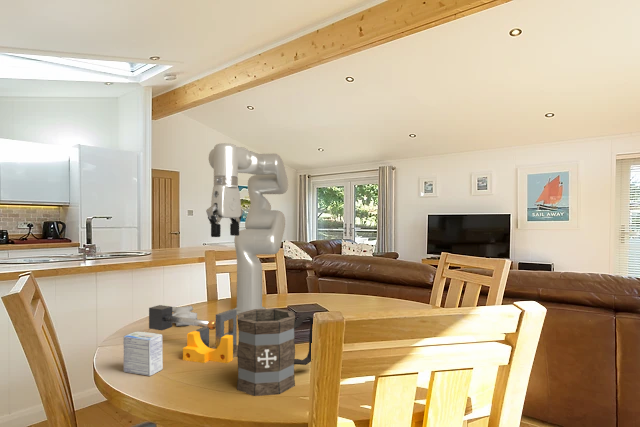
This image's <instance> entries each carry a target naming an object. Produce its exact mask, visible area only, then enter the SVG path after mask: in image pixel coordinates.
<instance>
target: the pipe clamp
mask: <svg viewBox="0 0 640 427" xmlns="http://www.w3.org/2000/svg"><path fill="white" fill-rule="evenodd" d="M186 336H187V337H186V346H184V347H182V361H184V362H185V361H186V362H194V363H201V364H206V363H208V362H213V363H214V362H215V363H222V364H223V363H224V364H229V363H230V362H232V361H233V360H234V358H233V335H225V336H223V337H221V341H220V344H219V346H218V348H217V349H212V347H210V346H209V347H207V346H206V345H205V344H204V343H203V342H202V340H201V337H200V332H198V331H196V330H193V331H190V332H188V333H187V334H186Z"/></svg>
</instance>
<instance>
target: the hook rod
mask: <svg viewBox="0 0 640 427" xmlns="http://www.w3.org/2000/svg"><path fill="white" fill-rule="evenodd" d="M172 307H173V306H169V305H162V304H159V305H154V306H151V307H148V329H150V330H156V331H165V330H167V329H170V328H173V324H176V323H179V324H186V326H193V327H194V326H195V327H200V328H203V327H206V328H209V331H210V330H211V331H212V330H216V319H215V320H214V319H210V320H205V319H198V318H197V319H191V318H184V317H177V316H172V314H173V312H172ZM172 322H173V323H172Z"/></svg>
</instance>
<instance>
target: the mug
mask: <svg viewBox="0 0 640 427" xmlns="http://www.w3.org/2000/svg"><path fill="white" fill-rule="evenodd" d="M307 319H309V323H310V324H309V325H310V329H309V334H308V337H309V339H308V353H307V355H306V357H305V358H303V359H299V358H296V344H295V330H296V329H299V327H300V326H301V325H302V324H303V322H304V321H306V320H307ZM312 324H313V315H312V314H310V313H303V314H301V315H299V316H298V317H297V318H296V315H295V312H294V311H293V310H287V309H283V308H282V309H281V308H266V309H253V310H250V311H246V312H242V313H238V315H237V327H238V328H237V330H238V342H237V343H238V344H237V345H238V353H237V356H236V357H237V366H238V370H237V371H238V372H237V373H238V376H237V382H236V390H237V391H239V392H242V393H245V394H247V395H251V396H253V397H260V396H261V397H262V396H273V395H274V396H275V395H276V396H277V395H281V394H283V393H285V392H287V391H288V390H290V389H293V387H295V386H296V382H295V381H296V380H295V366H296V365H297V366H298V365H303V366H306V365H308V364H310V363H311V362H312V361H311V343H312Z"/></svg>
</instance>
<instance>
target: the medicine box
mask: <svg viewBox="0 0 640 427" xmlns="http://www.w3.org/2000/svg"><path fill="white" fill-rule="evenodd" d="M163 363H164V362H163V334H162V333H154V332H146V331H145V332H144V331H134V332H131V333H128V334H126V335H124V336H123V373H131V374H134V375H135V374H136V375H142V376H149V377H151V376H153V375H155V374H156V373H158V372H160V371H162V370H163V369H164V368H163V366H164V365H163Z"/></svg>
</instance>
